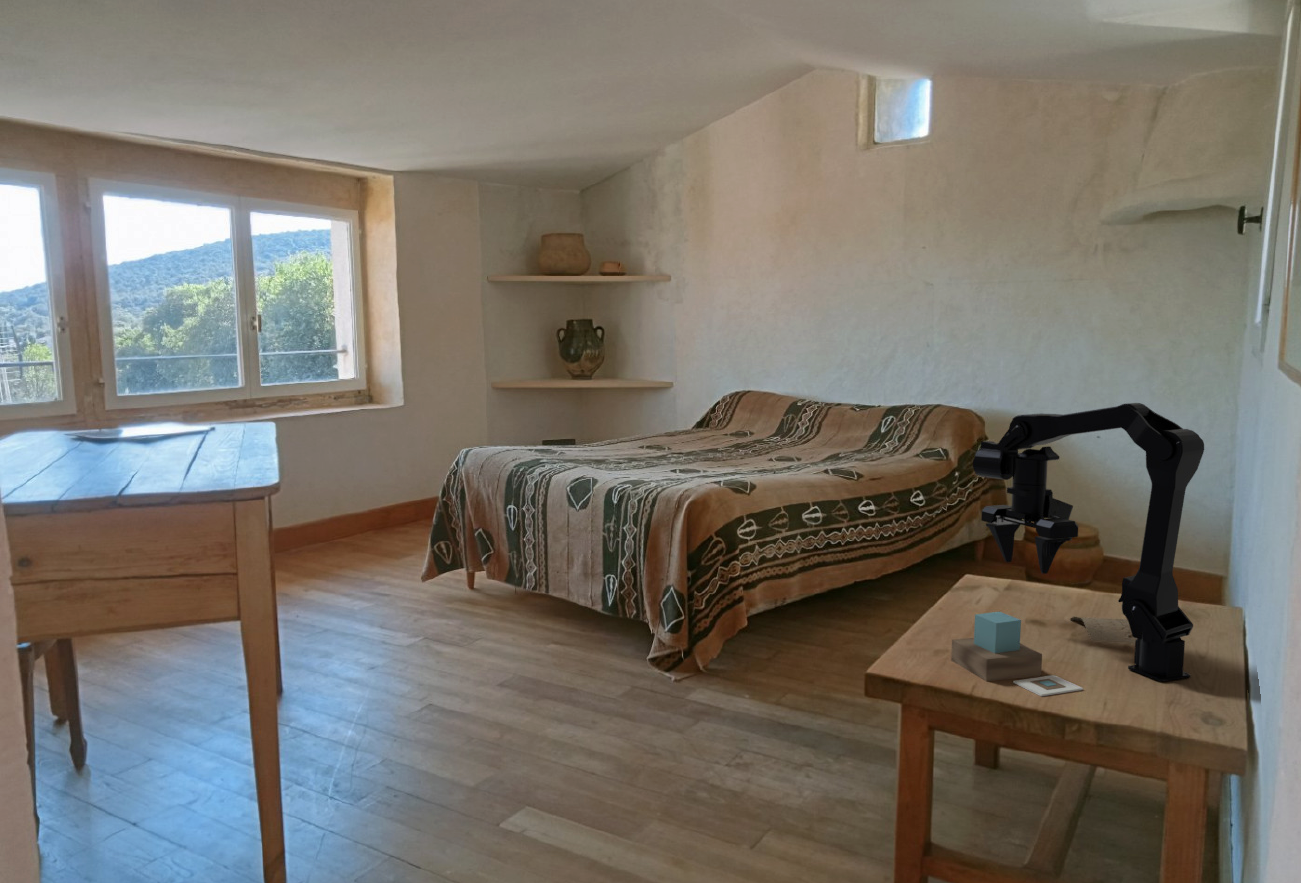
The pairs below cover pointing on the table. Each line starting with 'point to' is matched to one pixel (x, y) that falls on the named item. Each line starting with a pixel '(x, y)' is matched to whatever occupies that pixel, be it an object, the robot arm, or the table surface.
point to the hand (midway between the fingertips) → (1025, 567)
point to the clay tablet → (1107, 629)
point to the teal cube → (997, 632)
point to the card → (1048, 685)
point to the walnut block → (996, 661)
